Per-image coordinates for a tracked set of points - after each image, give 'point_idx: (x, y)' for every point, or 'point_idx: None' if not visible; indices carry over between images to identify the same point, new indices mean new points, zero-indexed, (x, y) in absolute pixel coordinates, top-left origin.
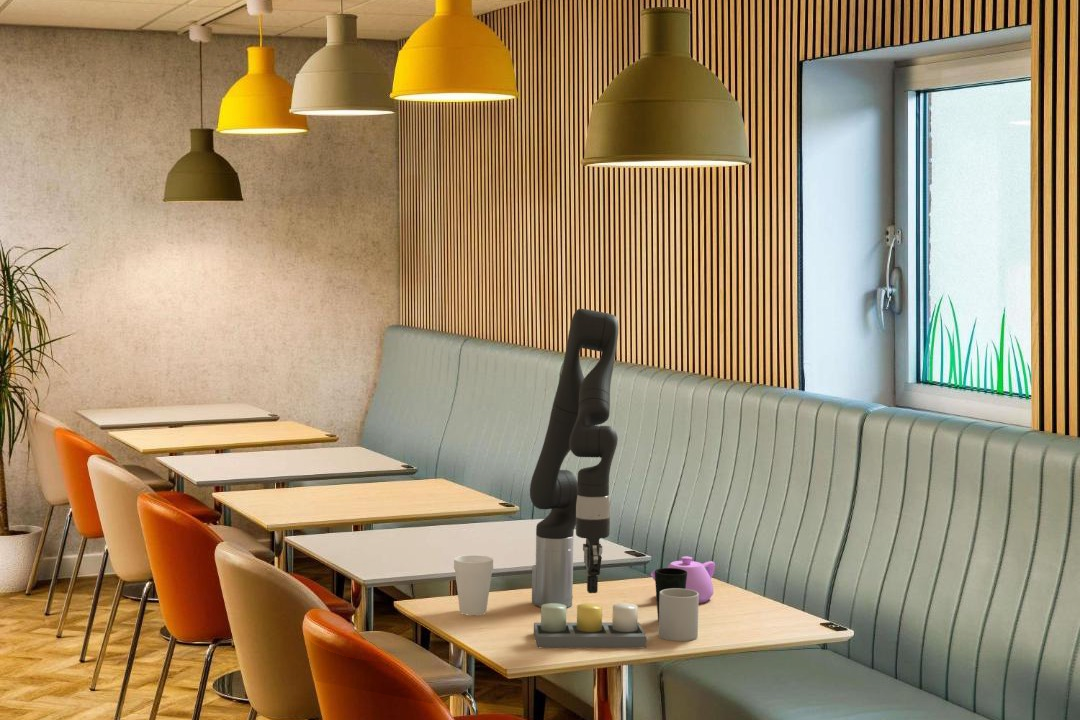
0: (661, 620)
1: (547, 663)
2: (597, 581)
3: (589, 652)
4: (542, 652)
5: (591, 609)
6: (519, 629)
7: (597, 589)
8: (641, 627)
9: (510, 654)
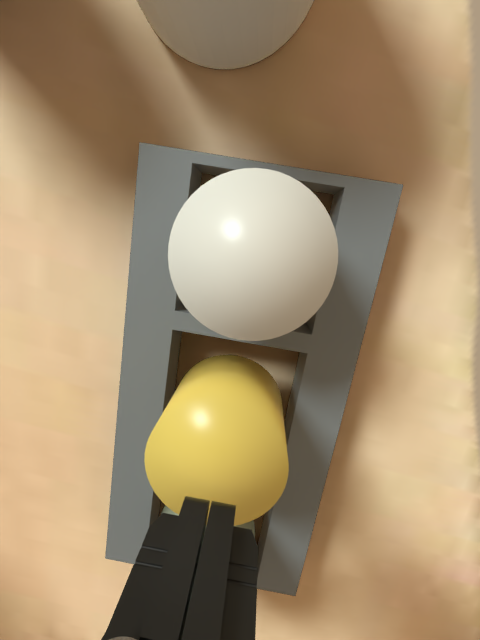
0: (240, 17)
1: (469, 575)
2: (224, 591)
3: (385, 424)
4: (344, 556)
5: (287, 477)
6: (70, 549)
7: (233, 520)
8: (234, 158)
9: (342, 636)
